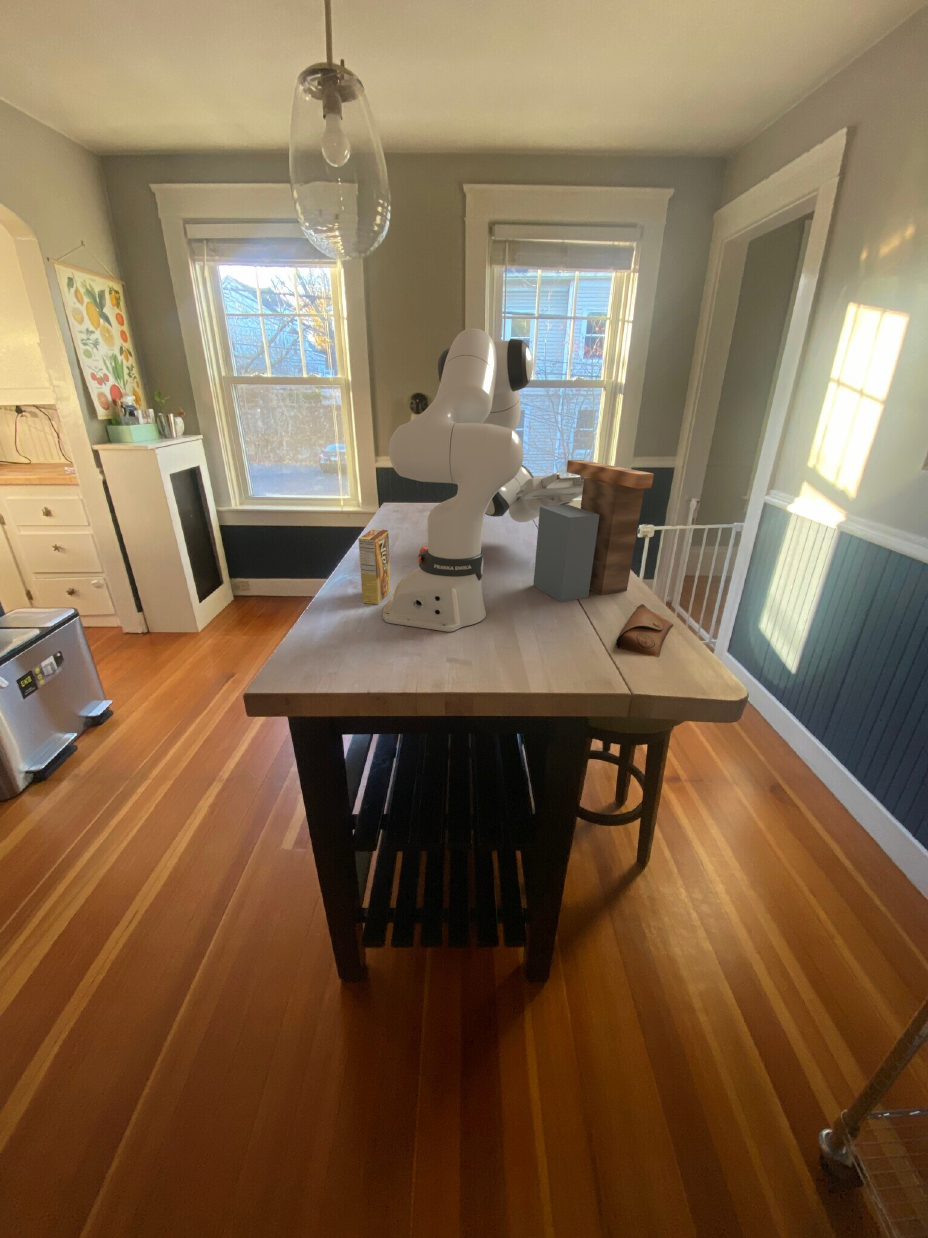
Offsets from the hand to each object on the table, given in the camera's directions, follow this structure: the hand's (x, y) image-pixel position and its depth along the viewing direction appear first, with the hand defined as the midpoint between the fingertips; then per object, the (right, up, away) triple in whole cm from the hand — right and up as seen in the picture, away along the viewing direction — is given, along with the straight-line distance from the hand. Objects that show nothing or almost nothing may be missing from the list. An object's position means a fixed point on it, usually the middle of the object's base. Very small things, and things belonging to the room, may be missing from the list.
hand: (572, 475), depth 127 cm
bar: (+5, -4, -11) cm, 13 cm away
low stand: (-5, -31, -7) cm, 32 cm away
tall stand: (+6, -29, -2) cm, 30 cm away
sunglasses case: (+9, -42, -28) cm, 51 cm away
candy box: (-49, -33, -13) cm, 60 cm away
